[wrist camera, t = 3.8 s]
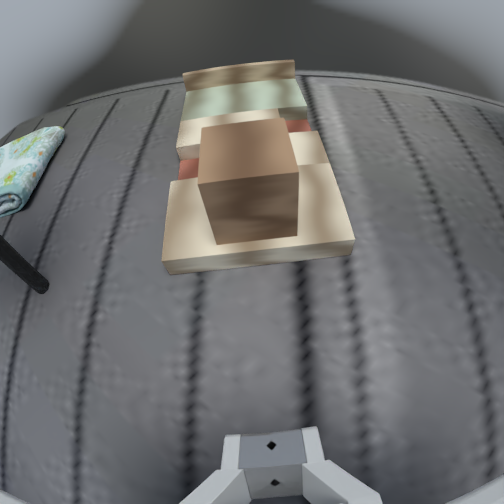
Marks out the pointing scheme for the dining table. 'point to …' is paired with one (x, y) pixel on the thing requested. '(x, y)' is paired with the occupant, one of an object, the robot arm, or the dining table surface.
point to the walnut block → (249, 181)
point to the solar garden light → (22, 267)
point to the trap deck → (307, 157)
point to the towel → (25, 166)
